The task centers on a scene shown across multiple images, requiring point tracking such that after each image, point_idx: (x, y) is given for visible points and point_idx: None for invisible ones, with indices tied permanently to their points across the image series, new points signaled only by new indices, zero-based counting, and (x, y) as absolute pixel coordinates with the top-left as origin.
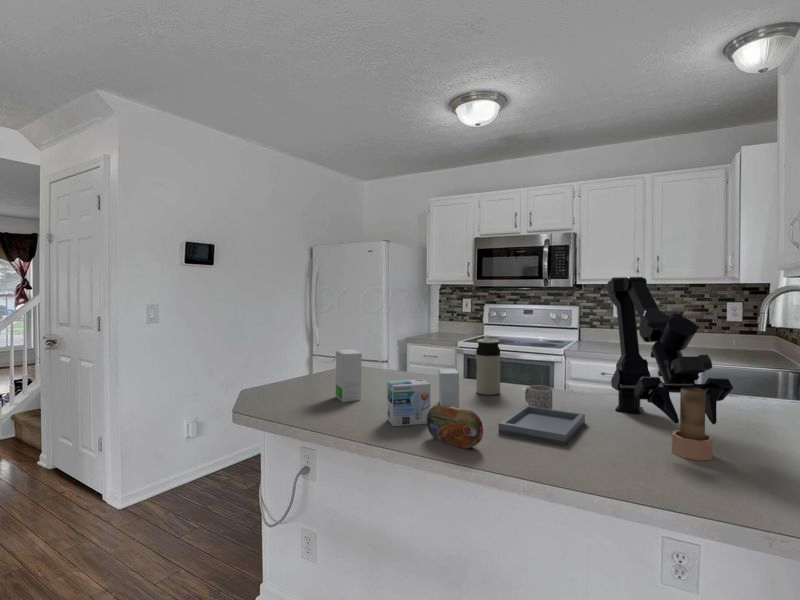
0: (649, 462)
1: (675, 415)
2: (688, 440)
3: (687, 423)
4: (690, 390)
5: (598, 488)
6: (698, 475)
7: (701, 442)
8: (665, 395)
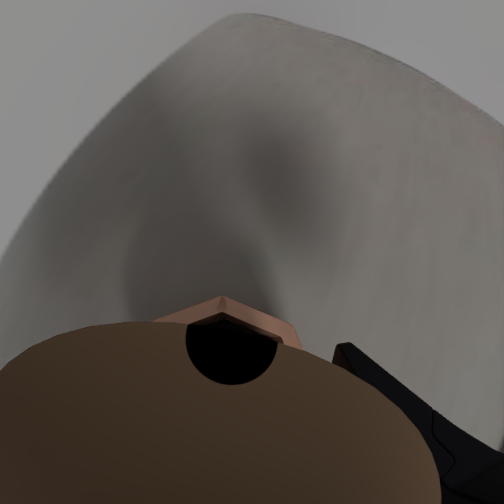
0: (401, 257)
1: (367, 365)
2: (270, 316)
3: (272, 359)
4: (298, 492)
5: (475, 118)
6: (287, 173)
7: (215, 298)
8: (493, 472)
